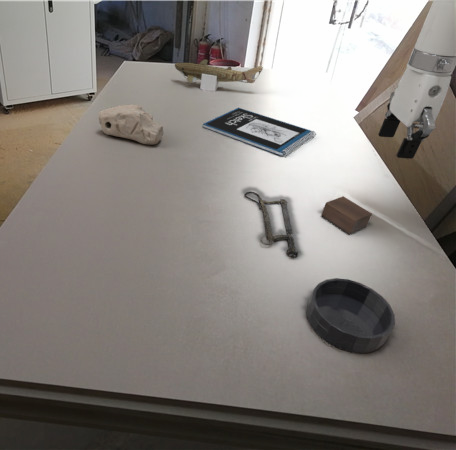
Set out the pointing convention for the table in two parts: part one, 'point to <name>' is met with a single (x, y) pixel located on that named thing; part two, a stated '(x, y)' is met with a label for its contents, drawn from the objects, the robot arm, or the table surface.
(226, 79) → the wood carving
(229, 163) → the table surface
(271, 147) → the sketchbook
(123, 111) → the decorative stone
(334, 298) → the pan
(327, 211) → the block
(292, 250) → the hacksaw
